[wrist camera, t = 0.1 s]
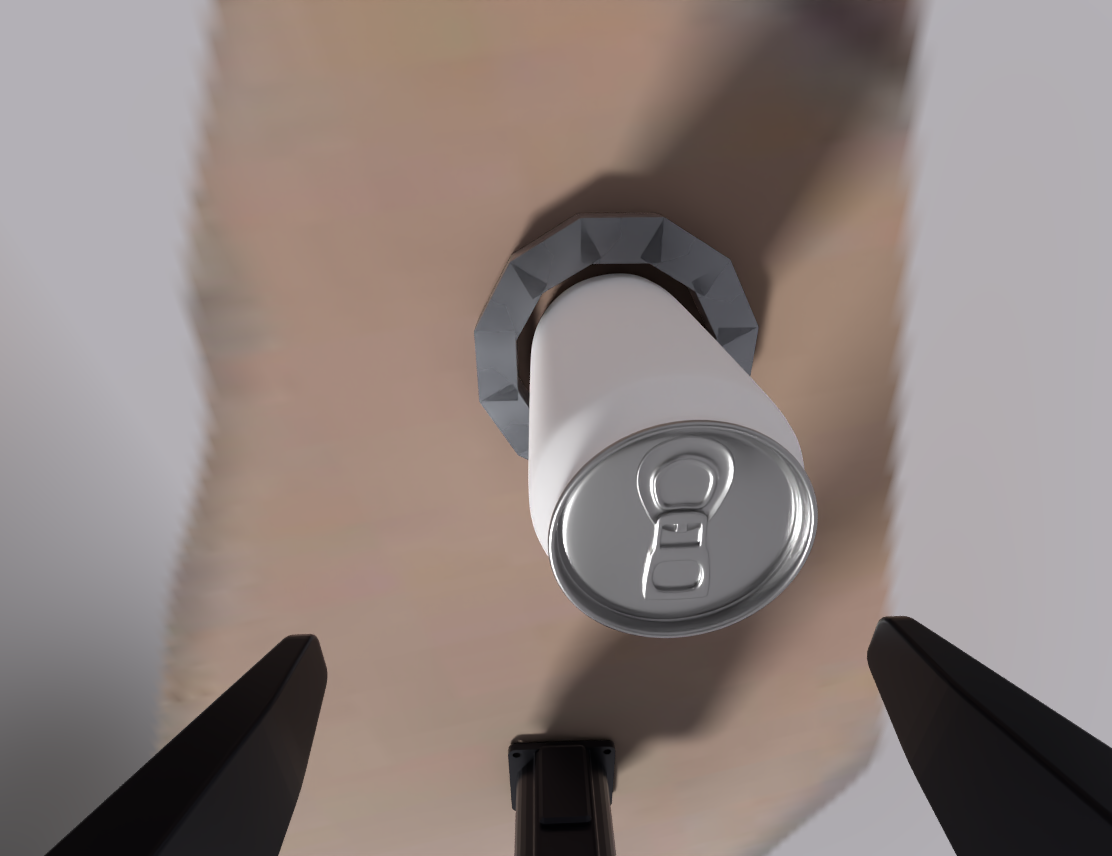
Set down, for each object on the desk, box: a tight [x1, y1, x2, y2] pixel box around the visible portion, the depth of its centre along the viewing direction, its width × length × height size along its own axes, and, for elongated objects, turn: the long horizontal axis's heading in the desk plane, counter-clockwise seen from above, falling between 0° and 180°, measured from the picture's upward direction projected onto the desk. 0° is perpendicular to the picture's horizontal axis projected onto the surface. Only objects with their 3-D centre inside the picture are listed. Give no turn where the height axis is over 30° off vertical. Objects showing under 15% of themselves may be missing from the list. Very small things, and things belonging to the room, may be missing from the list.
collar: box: [474, 213, 759, 460], centre depth 21 cm, size 10×10×2 cm
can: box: [528, 273, 818, 638], centre depth 17 cm, size 6×6×12 cm
